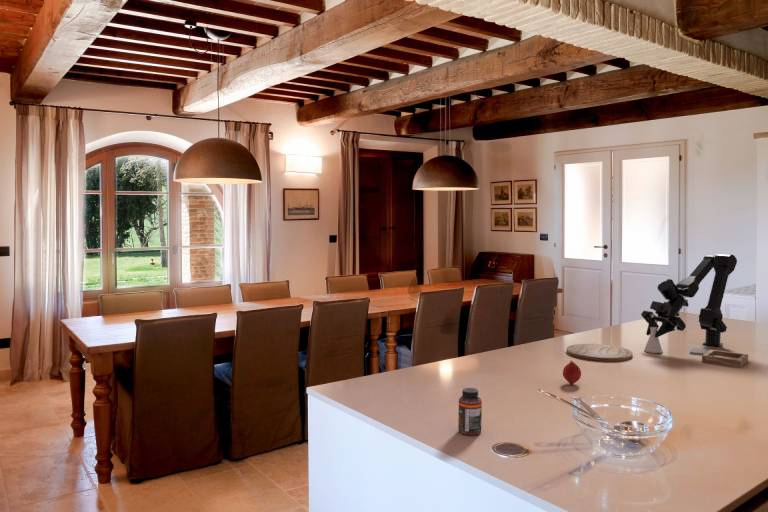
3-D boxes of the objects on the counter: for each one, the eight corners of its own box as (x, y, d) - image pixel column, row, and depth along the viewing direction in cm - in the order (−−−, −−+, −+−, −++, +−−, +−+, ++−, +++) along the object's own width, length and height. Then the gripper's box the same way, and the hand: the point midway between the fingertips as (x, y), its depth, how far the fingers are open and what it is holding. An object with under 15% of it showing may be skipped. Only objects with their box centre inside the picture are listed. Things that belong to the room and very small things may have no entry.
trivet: (563, 359, 244) (563, 354, 244) (569, 346, 267) (569, 341, 267) (632, 365, 234) (632, 360, 234) (632, 351, 257) (632, 346, 257)
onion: (581, 382, 210) (581, 359, 209) (580, 387, 204) (581, 363, 203) (562, 381, 211) (563, 357, 211) (561, 385, 206) (562, 361, 205)
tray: (710, 355, 248) (710, 349, 248) (747, 361, 240) (748, 354, 240) (701, 361, 238) (702, 355, 238) (740, 367, 230) (740, 360, 230)
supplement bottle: (456, 428, 166) (456, 386, 165) (478, 427, 166) (478, 386, 165) (460, 436, 160) (461, 393, 159) (483, 436, 160) (484, 392, 159)
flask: (659, 350, 258) (660, 326, 258) (665, 354, 251) (666, 329, 250) (641, 349, 259) (642, 325, 258) (646, 353, 252) (647, 328, 251)
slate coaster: (691, 349, 259) (692, 347, 259) (716, 351, 255) (716, 350, 255) (689, 353, 252) (690, 351, 251) (715, 356, 247) (715, 354, 247)
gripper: (645, 291, 263) (623, 319, 260) (681, 297, 246) (659, 327, 243) (658, 308, 267) (637, 336, 264) (695, 315, 250) (673, 345, 247)
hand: (651, 335), depth 254 cm, fingers open, 4 cm apart
